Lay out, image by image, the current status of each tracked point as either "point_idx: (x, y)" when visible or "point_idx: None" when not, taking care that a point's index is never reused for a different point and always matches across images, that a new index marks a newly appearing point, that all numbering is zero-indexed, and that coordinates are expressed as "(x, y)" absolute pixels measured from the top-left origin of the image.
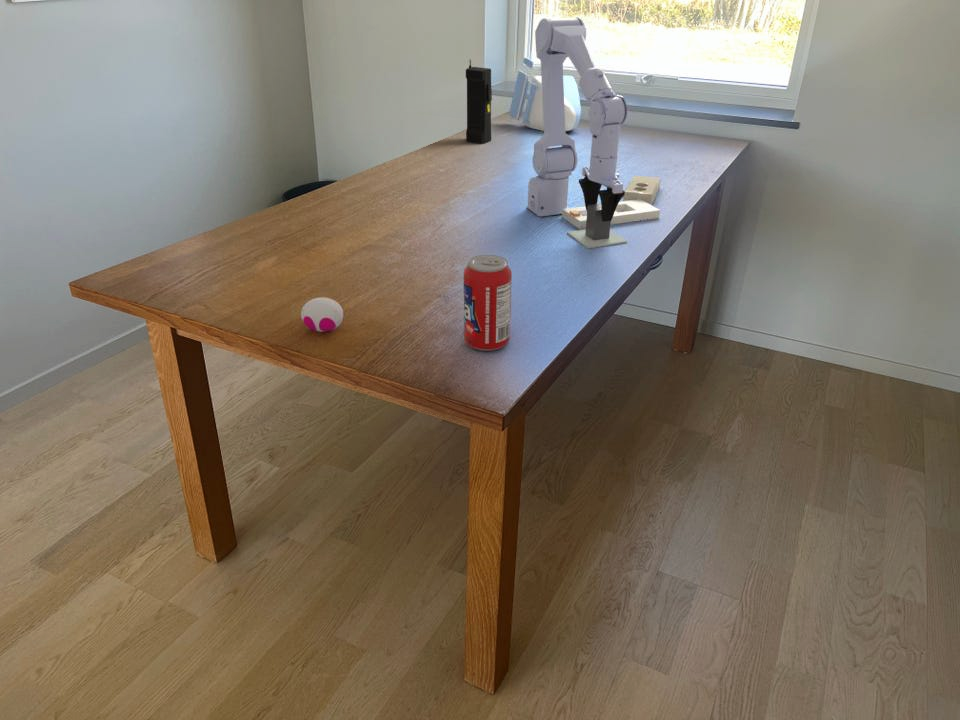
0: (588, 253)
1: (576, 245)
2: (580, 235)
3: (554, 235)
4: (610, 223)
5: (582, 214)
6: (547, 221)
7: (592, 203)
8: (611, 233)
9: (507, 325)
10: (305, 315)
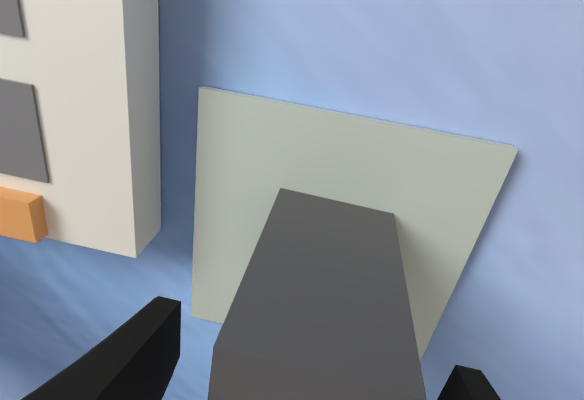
0: None
1: None
2: None
3: (193, 358)
4: (405, 279)
5: (28, 175)
6: (12, 278)
7: (146, 378)
8: (336, 144)
9: None
10: None
